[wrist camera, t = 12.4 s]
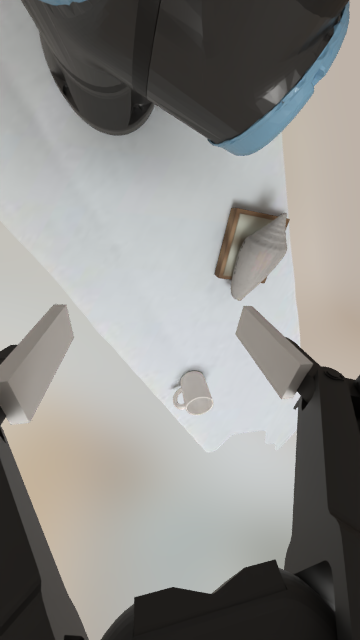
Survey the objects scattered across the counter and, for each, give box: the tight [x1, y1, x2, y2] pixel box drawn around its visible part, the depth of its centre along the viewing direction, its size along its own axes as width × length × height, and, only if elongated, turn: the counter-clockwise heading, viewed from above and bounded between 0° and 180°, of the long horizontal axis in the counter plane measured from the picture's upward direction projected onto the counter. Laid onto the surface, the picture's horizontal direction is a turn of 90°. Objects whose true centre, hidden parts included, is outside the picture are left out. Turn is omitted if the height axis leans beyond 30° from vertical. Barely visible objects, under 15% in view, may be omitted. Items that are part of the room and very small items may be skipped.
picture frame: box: [215, 208, 290, 283], centre depth 43 cm, size 14×12×3 cm
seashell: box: [231, 213, 287, 301], centre depth 40 cm, size 9×11×15 cm
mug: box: [173, 371, 213, 415], centre depth 60 cm, size 12×8×10 cm
